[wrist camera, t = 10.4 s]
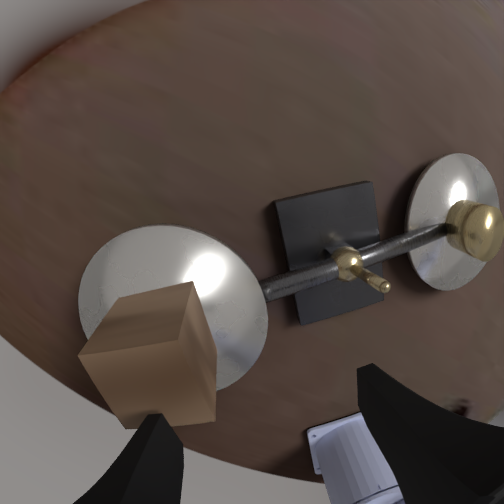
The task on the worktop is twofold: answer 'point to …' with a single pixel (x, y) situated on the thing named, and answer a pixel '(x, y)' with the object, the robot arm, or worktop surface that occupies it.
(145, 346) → the walnut block
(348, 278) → the balance
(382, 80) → the worktop surface
